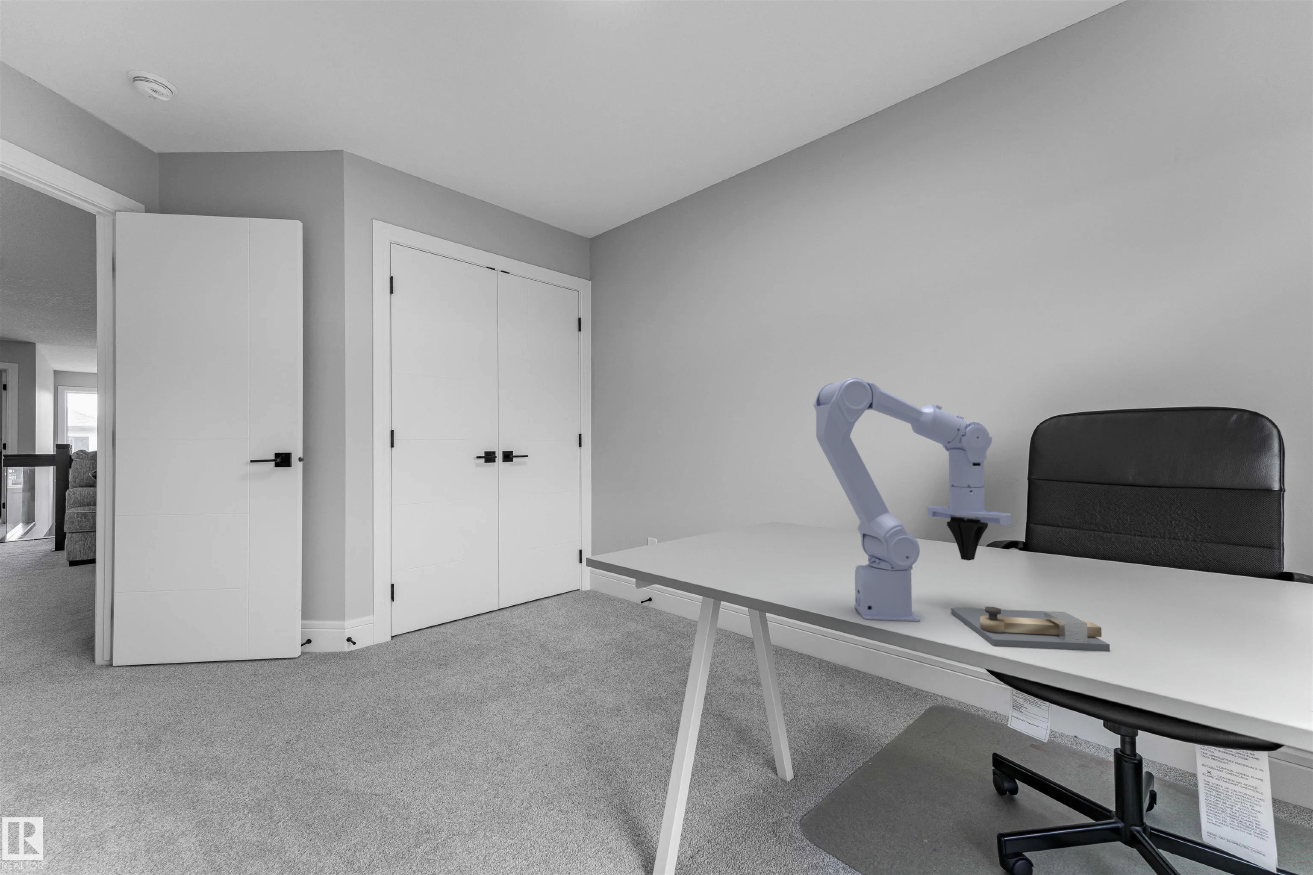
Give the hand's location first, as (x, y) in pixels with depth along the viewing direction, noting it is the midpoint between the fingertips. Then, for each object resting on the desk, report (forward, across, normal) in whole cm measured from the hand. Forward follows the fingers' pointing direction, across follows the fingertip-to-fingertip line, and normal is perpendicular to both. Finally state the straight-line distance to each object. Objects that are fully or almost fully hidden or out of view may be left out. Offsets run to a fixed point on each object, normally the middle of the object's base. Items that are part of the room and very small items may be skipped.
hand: (967, 559), depth 99 cm
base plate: (+9, -11, +3) cm, 15 cm away
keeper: (+8, -17, +4) cm, 19 cm away
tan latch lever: (+8, -14, +5) cm, 17 cm away
